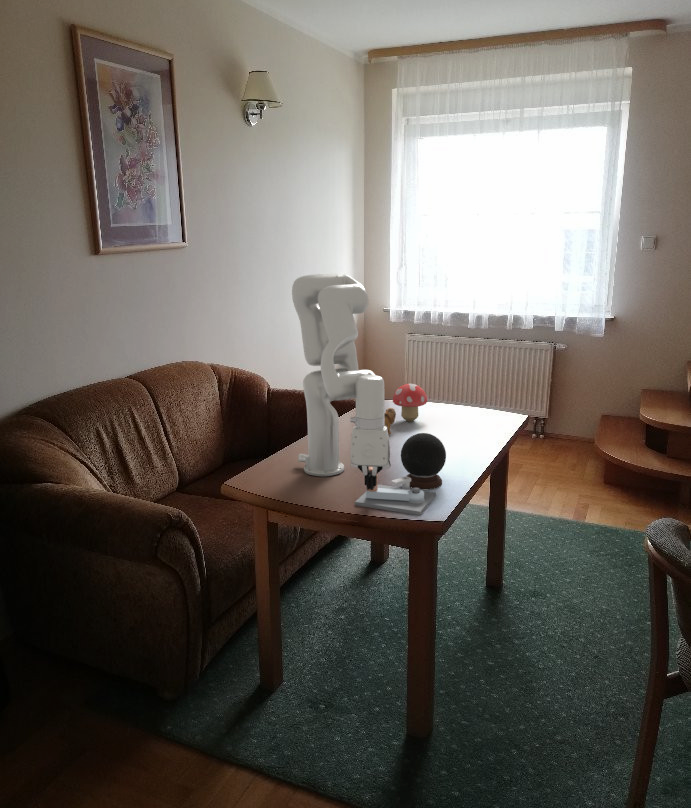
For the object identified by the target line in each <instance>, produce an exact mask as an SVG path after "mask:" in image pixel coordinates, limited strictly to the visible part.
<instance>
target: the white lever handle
mask: <svg viewBox="0 0 691 808" xmlns="http://www.w3.org/2000/svg"><path fill="white" fill-rule="evenodd" d="M372 470H373V466H369V471H370V472H371V473H372ZM378 475H379V473H378V474H377V485H376V486H375V487H374V489H373V490H371V489H369V490H367V489H366V490H365V492H366V498H372V499H387V500H403V501H411V502H422V501H424V491H425V490H421V489H419V488H411V489H412V490H403V489H387V488H378V484H379V481H378V480H379V478H378Z"/></svg>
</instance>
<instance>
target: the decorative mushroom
mask: <svg viewBox="0 0 691 808" xmlns="http://www.w3.org/2000/svg"><path fill="white" fill-rule="evenodd" d="M392 403H393V404H394V405H396V406H398V407H401V410H400V411H401V412H400V413H401V414H400V415H401V418H402V419H403V420H405V421H406V422H413V421H415V420H416V419H418V418H419V407H422V406H424V405H426V404H427V403H428V396H427V393H426V392H425V390H424V388H422V387H421V386H420V385H418V384H415V383H405V384H403V385H401V386H399V387H398V388H397V389H396V390H395V392H394V394H393V396H392Z"/></svg>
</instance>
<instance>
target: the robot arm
mask: <svg viewBox="0 0 691 808" xmlns="http://www.w3.org/2000/svg"><path fill="white" fill-rule="evenodd" d="M291 296H292V302H293V305H294V306H293V307H294V308H295V311H296V313H297V316H298V319H299V324H300V330H301V339H302V346H303V355H304V358H305V361H306V363H307V364H308V365H309V366H313V367H320V370H314V371H311V372H309V373H308V374H307V373H306V375H305V376H304V378H303V382H302V388H303V394H304V398H305V405H306V418H307V419H306V420H307V446H308V448H307V449H308V450H307V452H308V453H307V454H305V453H299V454H298V455H297V457H298V460H297V461H298V463H304V464H305V465H304V466H303V471H304V472H305V474H307V475H309V476H314V477H331V476H332V477H333V476H336V475H338V474H341V473H343V472H344V470H345V465H344V464H343V463H342V462H340V437H339V436H340V429H339V423H340V422H339V414H338V412H337V410H336V409H335V407H334V406H333V405H332V404H331V402H332V401H344V400H345V401H346V400H347V401H348V400H353V399H355V416H353V417H352V416H351V417H350V423H353V424H354V425H355V426H353V427H352V431H351V437H350V451H349V452H350V453H349V455H350V457H349V458H350V466H351V467H353V468H355V469H358V470H360V472H361V473H362V474H363V476H364V486H366V490H369V489H371V490H373V489H374V487H375V486H376V485H377V474H378V475H379V473H380V472H381V471H382V470H388V469H390V468H391V466H392V463H391V461H390V457H391V452H390V451H391V449H390V448H391V447H390V438H389V437H390V436H389V434H388V430H387V426H384V413H385V380H384V378H383V377H382V376H379V375H376V373H375V372H374V371H372V370H371V369H370V370H369V369H359V363H358V356H357V355H358V354H357V347H356V344H355V341H356V340H357V339H358V336H359V330H358V326H357V324H356V320H355V317H354V314H355V315H356V314H364V313H365V312H366V311H367V310H368V308H369V305H370V304H369V303H370V300H369V296H368V293H367V290H366V287H364V286H363V284H362V283H360V282H359V281H357V279H354V278H353V277H351V276H350V275H348V274H345V273H329V274H328V273H324V274H320V273H319V274H308V275H303V276H300V277H297V278H296V279H295V280H294V281H293V284H292V286H291ZM335 365H338V366H339V368H336V367H335ZM369 467H373V470H372V473H371V472H370V471H369Z"/></svg>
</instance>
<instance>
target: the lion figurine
mask: <svg viewBox="0 0 691 808" xmlns="http://www.w3.org/2000/svg"><path fill="white" fill-rule="evenodd" d="M396 415H397V413H396V410H395V408H393V407H388V408H387V409H385V411H384V426H386V427H387V430H388V435H390V434H392V432H391V427H392V426H391V425H393V424H394V423H395V420H396Z"/></svg>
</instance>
